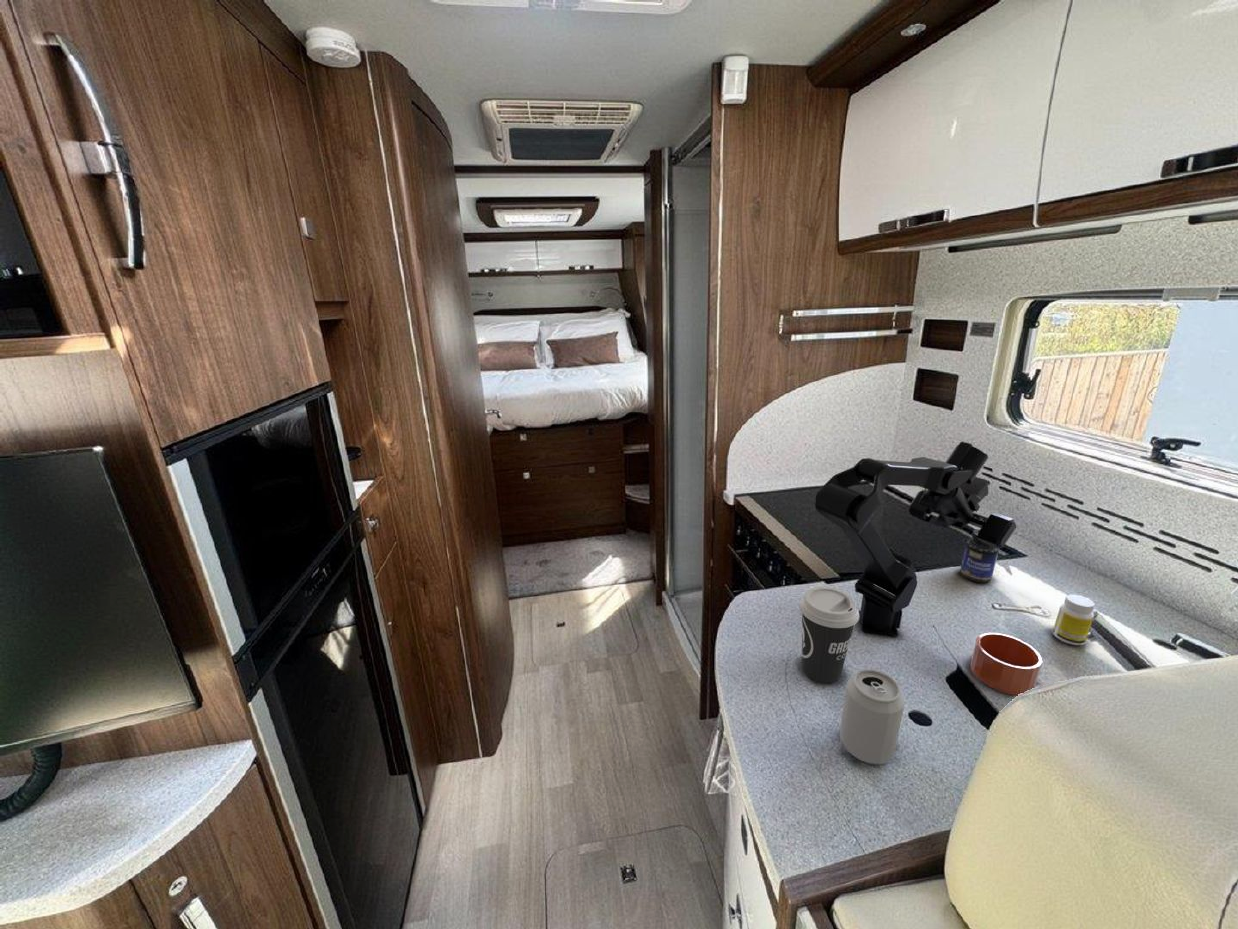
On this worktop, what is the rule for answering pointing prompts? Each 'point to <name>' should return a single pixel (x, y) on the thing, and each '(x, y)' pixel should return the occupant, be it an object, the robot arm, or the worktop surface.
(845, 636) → the coffee cup
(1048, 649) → the worktop surface
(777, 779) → the worktop surface
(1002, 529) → the robot arm
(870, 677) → the can
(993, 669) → the ceramic bowl
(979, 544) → the pill bottle
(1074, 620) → the supplement bottle
